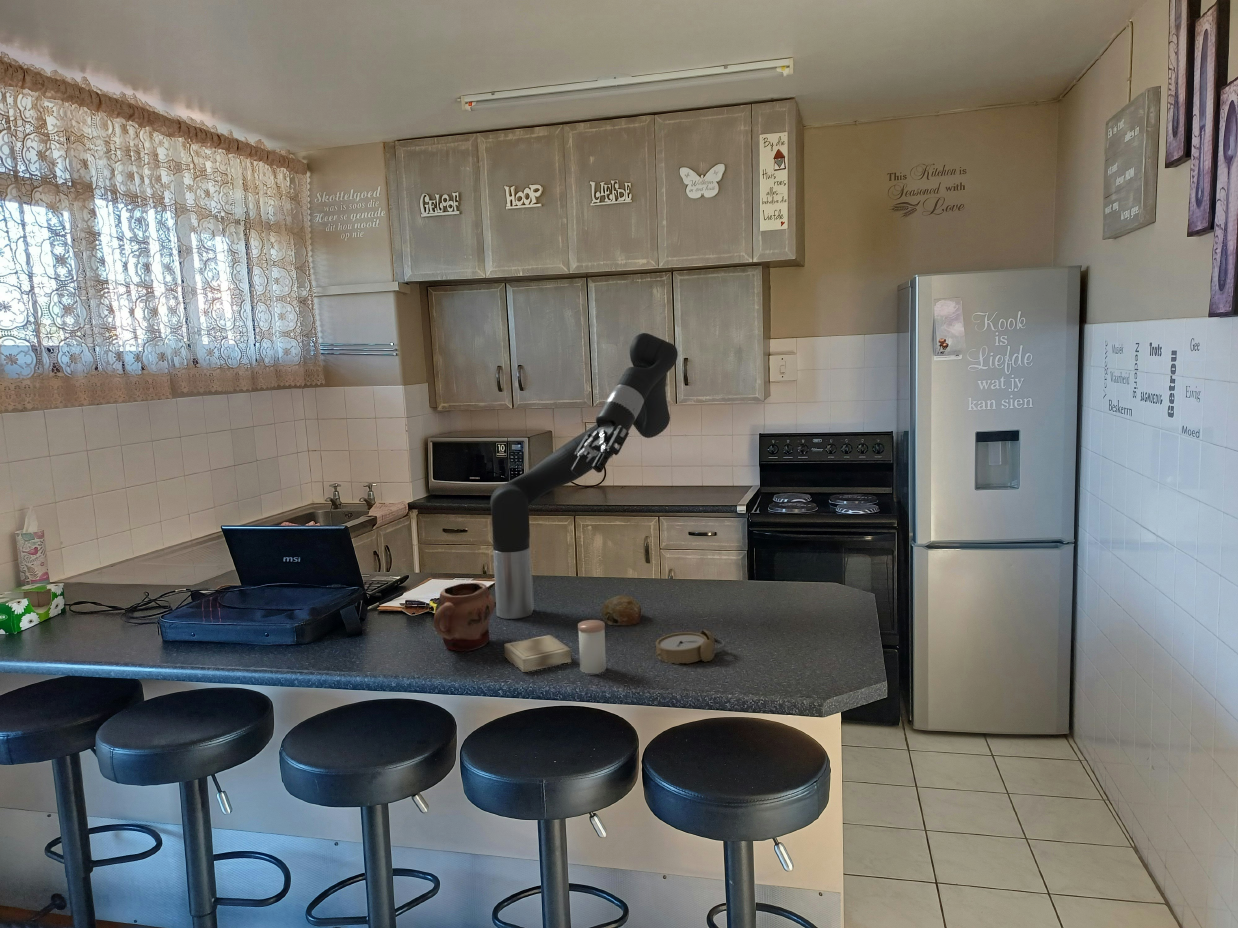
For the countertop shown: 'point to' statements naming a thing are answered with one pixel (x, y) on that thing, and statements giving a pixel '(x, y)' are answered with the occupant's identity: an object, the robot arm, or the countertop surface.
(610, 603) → the bread roll
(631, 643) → the countertop surface
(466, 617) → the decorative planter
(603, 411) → the robot arm
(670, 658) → the alarm clock
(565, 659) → the plinth
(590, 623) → the canister
